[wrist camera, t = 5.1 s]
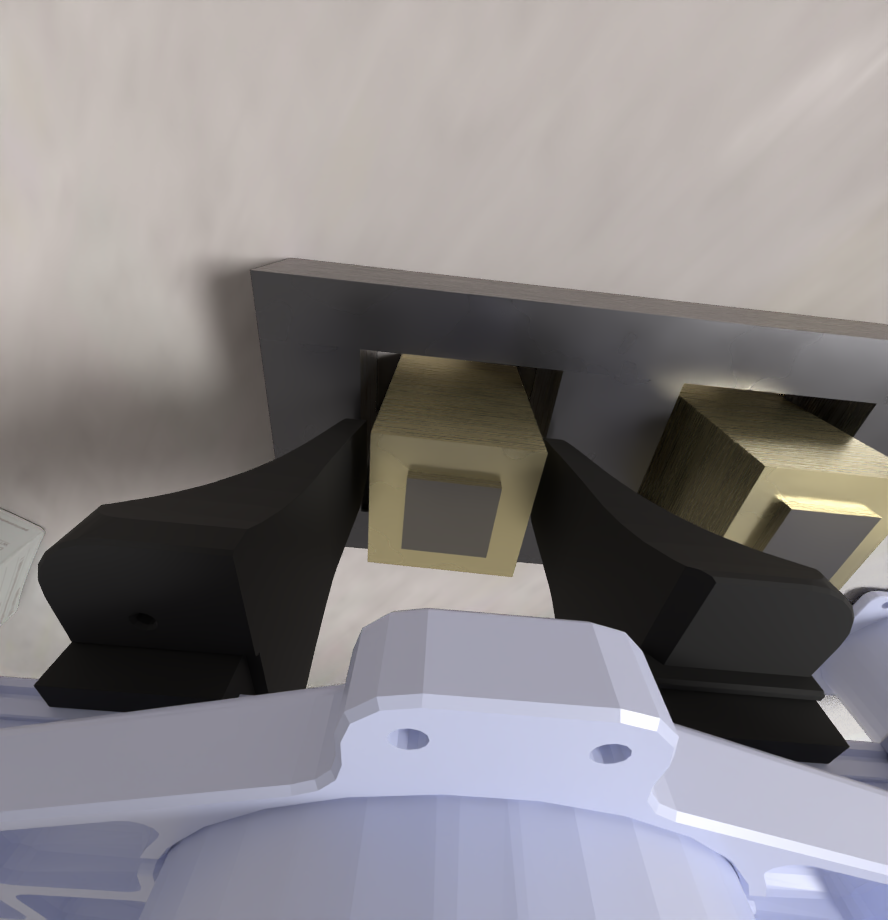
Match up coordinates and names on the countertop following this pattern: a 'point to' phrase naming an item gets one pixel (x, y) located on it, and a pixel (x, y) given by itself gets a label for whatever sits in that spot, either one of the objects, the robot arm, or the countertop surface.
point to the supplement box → (15, 559)
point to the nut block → (453, 467)
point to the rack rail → (550, 358)
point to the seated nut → (771, 479)
